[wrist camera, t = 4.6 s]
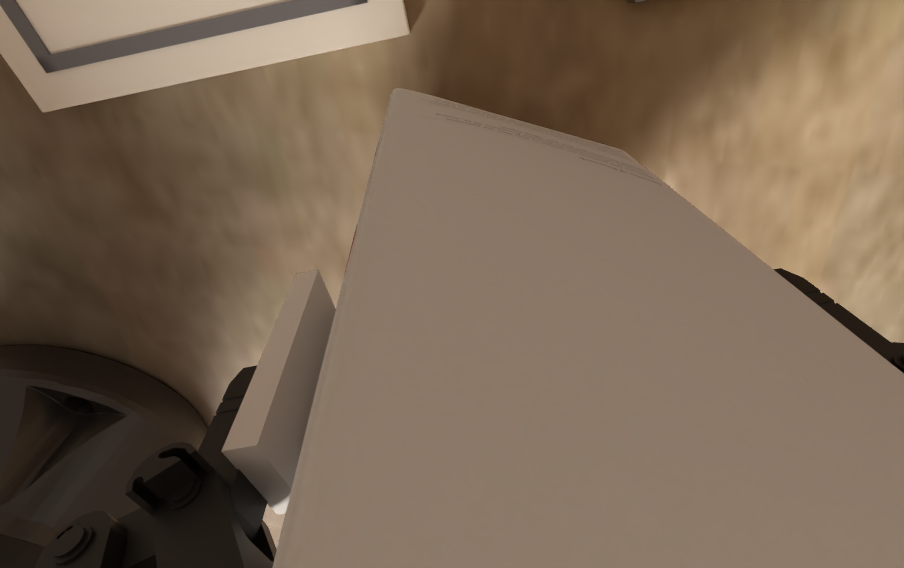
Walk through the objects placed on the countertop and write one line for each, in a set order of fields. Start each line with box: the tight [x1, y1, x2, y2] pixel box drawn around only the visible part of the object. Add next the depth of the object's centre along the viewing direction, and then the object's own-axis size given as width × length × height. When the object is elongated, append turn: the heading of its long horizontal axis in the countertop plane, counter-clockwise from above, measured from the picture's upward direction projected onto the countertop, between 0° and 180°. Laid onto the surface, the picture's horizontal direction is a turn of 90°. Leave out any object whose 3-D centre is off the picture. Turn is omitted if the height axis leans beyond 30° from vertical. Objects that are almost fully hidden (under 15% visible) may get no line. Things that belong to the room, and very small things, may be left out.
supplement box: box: [272, 88, 904, 568], centre depth 11 cm, size 9×9×15 cm
